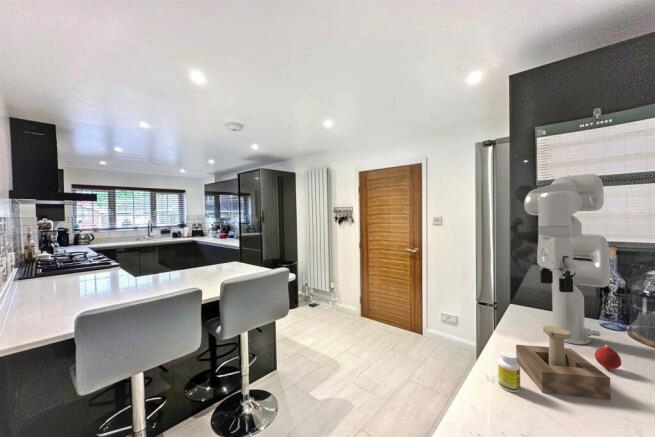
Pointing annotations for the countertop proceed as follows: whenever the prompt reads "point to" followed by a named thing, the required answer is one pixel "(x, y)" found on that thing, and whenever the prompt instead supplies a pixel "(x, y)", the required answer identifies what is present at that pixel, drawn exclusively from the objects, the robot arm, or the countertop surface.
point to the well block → (563, 373)
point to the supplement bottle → (509, 372)
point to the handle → (556, 345)
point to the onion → (608, 358)
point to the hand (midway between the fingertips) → (555, 287)
